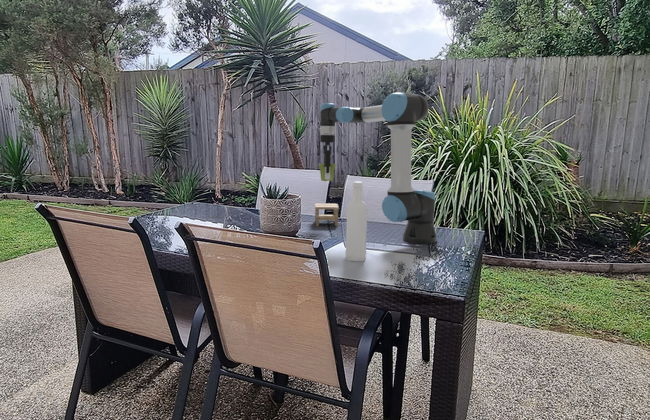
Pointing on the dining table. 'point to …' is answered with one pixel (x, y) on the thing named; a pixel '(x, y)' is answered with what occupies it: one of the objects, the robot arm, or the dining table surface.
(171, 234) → the dining table surface
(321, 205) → the plant stand
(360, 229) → the bottle
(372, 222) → the dining table surface
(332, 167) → the plant pot
